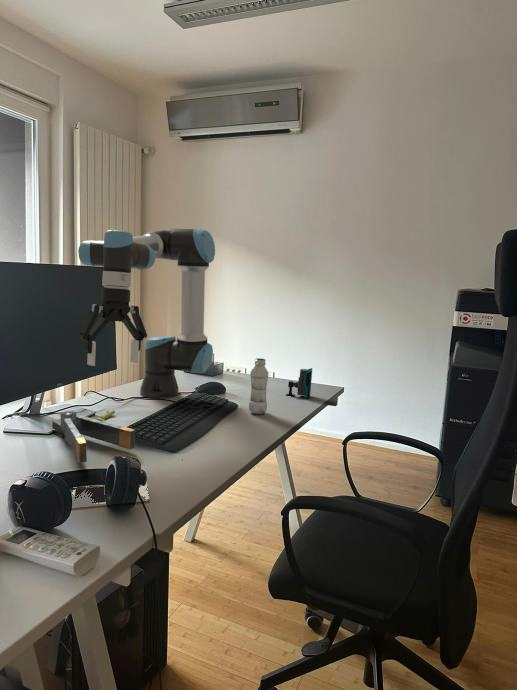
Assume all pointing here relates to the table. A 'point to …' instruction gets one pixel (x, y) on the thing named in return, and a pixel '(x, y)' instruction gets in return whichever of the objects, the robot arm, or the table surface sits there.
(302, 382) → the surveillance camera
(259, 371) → the plastic bottle
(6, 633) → the table surface
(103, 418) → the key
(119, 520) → the table surface
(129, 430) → the tongs jaw
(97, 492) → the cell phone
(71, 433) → the tongs jaw
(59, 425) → the tongs pivot
